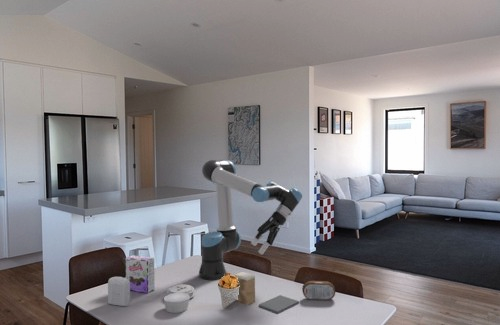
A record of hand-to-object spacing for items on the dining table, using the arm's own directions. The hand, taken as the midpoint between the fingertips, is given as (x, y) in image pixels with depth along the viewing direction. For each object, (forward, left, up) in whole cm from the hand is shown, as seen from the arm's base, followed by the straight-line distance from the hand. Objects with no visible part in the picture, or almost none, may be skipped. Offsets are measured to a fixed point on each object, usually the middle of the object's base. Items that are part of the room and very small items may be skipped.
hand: (256, 249), depth 183 cm
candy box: (-57, -13, -21) cm, 62 cm away
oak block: (-2, -15, -20) cm, 25 cm away
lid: (-33, -17, -21) cm, 43 cm away
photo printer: (-57, -31, -21) cm, 68 cm away
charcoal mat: (+14, -16, -20) cm, 29 cm away
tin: (+31, -6, -21) cm, 38 cm away
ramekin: (-29, -30, -21) cm, 47 cm away
